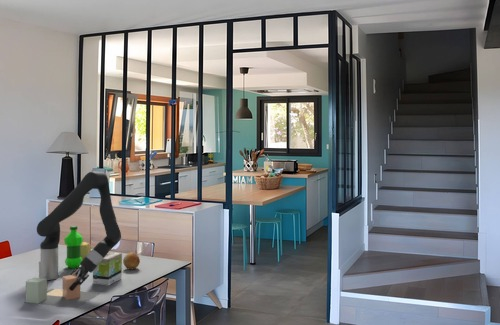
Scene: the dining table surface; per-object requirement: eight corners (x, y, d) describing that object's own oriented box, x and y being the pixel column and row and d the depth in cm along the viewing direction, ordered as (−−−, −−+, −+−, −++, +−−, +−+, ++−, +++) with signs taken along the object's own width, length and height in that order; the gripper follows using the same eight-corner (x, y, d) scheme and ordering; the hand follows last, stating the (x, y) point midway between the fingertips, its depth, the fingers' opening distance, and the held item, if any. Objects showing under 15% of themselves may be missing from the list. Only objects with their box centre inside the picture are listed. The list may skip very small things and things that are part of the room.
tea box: (109, 286, 263) (109, 258, 262) (92, 284, 265) (92, 257, 264) (122, 278, 278) (122, 252, 277) (105, 277, 280) (105, 251, 279)
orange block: (66, 300, 238) (66, 279, 238) (62, 296, 243) (62, 276, 243) (80, 297, 242) (80, 277, 242) (76, 294, 247) (75, 274, 247)
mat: (23, 303, 234) (23, 302, 234) (52, 289, 255) (52, 288, 255) (76, 309, 228) (76, 307, 228) (101, 294, 249) (101, 293, 249)
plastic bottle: (86, 266, 301) (86, 226, 300) (71, 270, 292) (71, 228, 291) (75, 264, 306) (75, 224, 305) (61, 267, 297) (60, 226, 296)
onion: (119, 270, 294) (119, 253, 294) (128, 266, 304) (128, 250, 303) (134, 271, 291) (134, 255, 291) (142, 267, 301) (142, 251, 300)
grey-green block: (25, 302, 234) (25, 281, 234) (34, 297, 241) (34, 277, 240) (38, 303, 233) (38, 282, 232) (46, 298, 239) (46, 278, 239)
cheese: (91, 256, 327) (91, 241, 326) (86, 260, 316) (86, 245, 316) (75, 256, 327) (75, 241, 326) (70, 260, 316) (70, 245, 315)
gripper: (81, 253, 252) (58, 280, 245) (91, 259, 241) (67, 287, 234) (92, 262, 255) (69, 288, 249) (102, 268, 244) (78, 296, 237)
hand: (68, 287), depth 241 cm, fingers closed on orange block, 6 cm apart
